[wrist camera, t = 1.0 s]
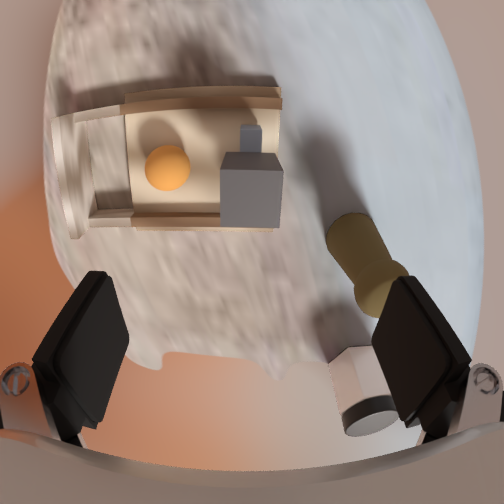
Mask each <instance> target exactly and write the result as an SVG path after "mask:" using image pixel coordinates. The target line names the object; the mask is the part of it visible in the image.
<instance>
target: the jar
mask: <svg viewBox="0 0 504 504" xmlns="http://www.w3.org/2000/svg"><path fill="white" fill-rule="evenodd" d="M328 366H329V370H330V374H331V379H332V382H333V387H334V391H335V396H336V399H337V404H338V409H339V413H340V415H341V416H342V422H343V427H344V431H345V434H347V435H348V436H354V437H357V436H365V435H369V434H372V433H375V432H378V431H380V430H382V429H384V428H386V427H388V426H389V425H391V424H392V423H394V422H395V421H396V420H397V419H398V417H399V415H398V412H397V410H396V407H395V404H394V401H393V398H392V396H391V393H390V390H389V387H388V385H387V382H386V380H385V377H384V374H383V372H382V369H381V367H380V364H379V361H378V359H377V356H376V354H375V351H374V349H373V346H360V347H348V348H347V349H346V350H344V351H343V352H342V353H341V354H340V355H338V356H337V357H336V358H335V359H334V360H332V361H331V362H330V363H329V364H328Z"/></svg>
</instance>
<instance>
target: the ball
mask: <svg viewBox="0 0 504 504" xmlns="http://www.w3.org/2000/svg"><path fill="white" fill-rule="evenodd" d="M190 168H191V166H190V160H189V158H188V156H187V154H186V153H185V152H184V151H183V150H182V149H180V148H179V147H176V146H173V145H164V146H161V147H158V148H156V149H155V150H154V151H152V152H151V153H150V155H149V156H148V158H147V160H146V162H145V176H146V178H147V180H148V182H149V183H150V184H151V185H152V186H153V187H154V188H156V189H158V190H161V191H172V190H175V189H177V188H179V187H181V186H182V185H183V184H184V183H185V182H186V180H187V179H188V177H189V174H190Z"/></svg>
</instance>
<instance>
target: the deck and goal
mask: <svg viewBox="0 0 504 504" xmlns="http://www.w3.org/2000/svg"><path fill="white" fill-rule="evenodd" d="M124 98H125V104H121V105H114V106H108V107H102V108H96V109H91V110H86V111H81V112H76V113H72V114H67V115H63V116H59V117H55V118H51V127H52V138H53V147H54V155H55V163H56V170H57V176H58V182H59V188H60V193H61V198H62V203H63V208H64V213H65V217H66V221H67V226H68V230H69V234H70V238H71V239H79V238H80V237H81V236H82V235H83V234H84V233H85V232H86V231H87V230H88V229H89V228H90V227H136V229H137V231H240V232H273V228H257V227H220V168H221V165H222V162H223V159H224V156H225V154H226V152H240V128H241V125H260V126H261V128H262V152H263V153H275V154H276V156H277V158H278V141H279V122H280V110H282V98H281V87H263V86H198V87H181V88H168V89H157V90H148V91H140V92H133V93H126V94H124ZM119 115H125V125H126V141H127V155H128V166H129V176H130V185H131V193H132V201H133V208H130V209H99V210H98V209H97V203H96V197H95V191H94V185H93V178H92V170H91V162H90V154H89V144H88V132H87V121H88V120H93V119H99V118H105V117H112V116H119ZM164 145H173V146H176V147H179V148H180V149H182V150H183V151H184V152H185V153H186V154H187V156H188V158H189V160H190V166H191V168H190V174H189V177H188V179H187V180H186V182H185V183H184V184H183V185H182V186H181V187H179V188H177V189H175V190H172V191H161V190H158V189H156V188H154V187H153V186H152V185H151V184H150V183H149V182H148V180H147V178H146V176H145V162H146V160H147V158H148V156H149V155H150V153H151V152H152V151H154V150H155V149H156V148H158V147H161V146H164Z"/></svg>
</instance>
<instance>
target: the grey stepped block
mask: <svg viewBox="0 0 504 504" xmlns="http://www.w3.org/2000/svg"><path fill="white" fill-rule="evenodd" d="M283 173H284V171H283V169H282V167H281V165H280V162H279V160H278V158H277V156H276V154H275V153H263V152H262V128H261V126H260V125H241V128H240V152H226V154H225V156H224V159H223V162H222V165H221V168H220V227H257V228H279V226H280V213H281V200H282V187H283Z"/></svg>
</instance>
